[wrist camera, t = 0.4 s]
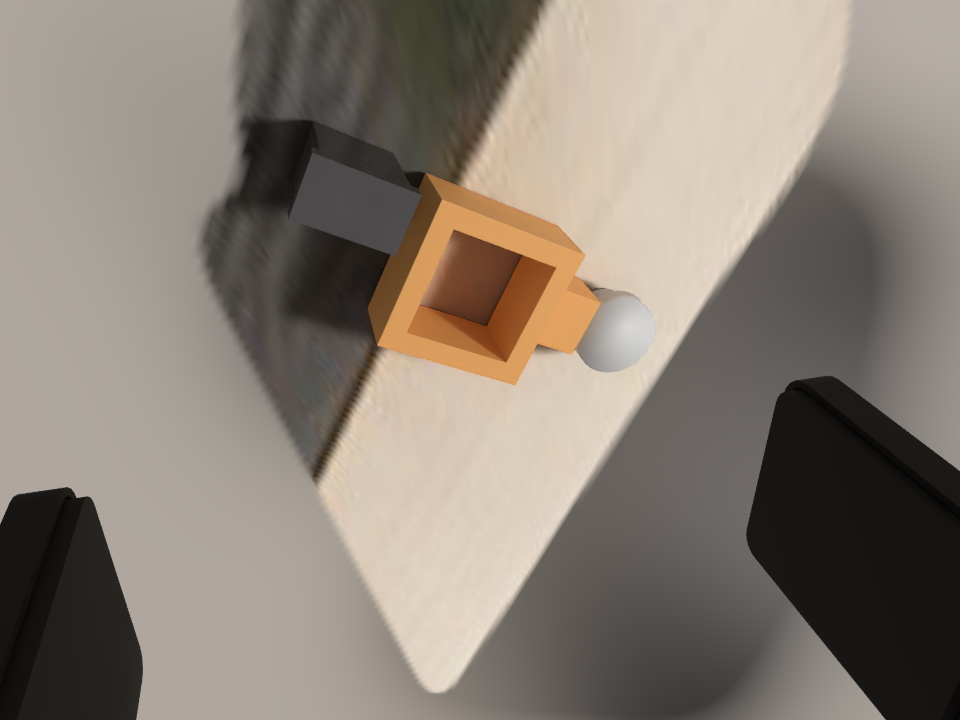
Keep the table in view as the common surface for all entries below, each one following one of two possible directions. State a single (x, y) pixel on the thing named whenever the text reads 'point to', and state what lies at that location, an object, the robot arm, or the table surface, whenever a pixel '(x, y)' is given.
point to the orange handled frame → (524, 304)
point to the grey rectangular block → (352, 190)
